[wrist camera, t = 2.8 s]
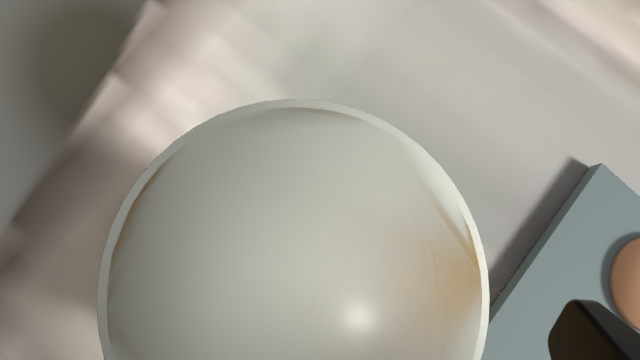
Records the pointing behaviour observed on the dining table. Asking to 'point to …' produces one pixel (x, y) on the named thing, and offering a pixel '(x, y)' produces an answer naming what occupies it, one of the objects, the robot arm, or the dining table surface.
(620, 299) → the card
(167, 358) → the amber cup
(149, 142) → the dining table surface
